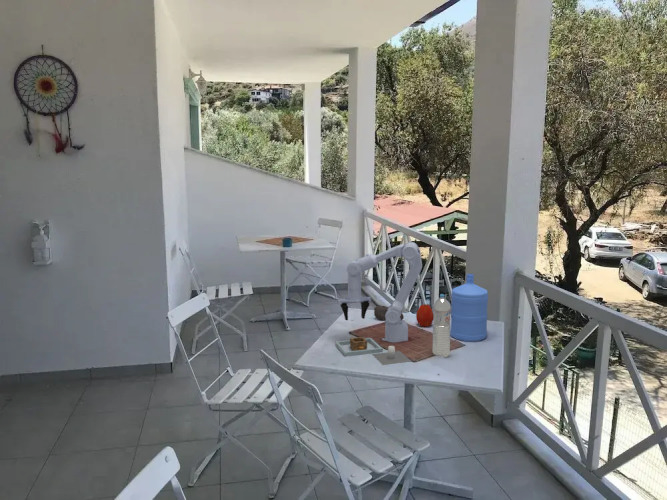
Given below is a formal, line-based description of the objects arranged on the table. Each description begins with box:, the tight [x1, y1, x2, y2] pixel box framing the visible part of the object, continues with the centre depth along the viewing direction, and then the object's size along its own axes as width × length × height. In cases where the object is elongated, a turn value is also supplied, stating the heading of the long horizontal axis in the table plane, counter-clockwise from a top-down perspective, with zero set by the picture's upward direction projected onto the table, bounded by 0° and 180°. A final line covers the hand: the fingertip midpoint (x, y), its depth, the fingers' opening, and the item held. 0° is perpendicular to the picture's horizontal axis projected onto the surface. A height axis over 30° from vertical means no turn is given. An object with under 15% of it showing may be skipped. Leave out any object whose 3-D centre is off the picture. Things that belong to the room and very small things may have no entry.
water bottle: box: [432, 293, 452, 358], centre depth 214 cm, size 7×7×25 cm
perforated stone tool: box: [373, 304, 405, 321], centre depth 263 cm, size 15×5×7 cm, turn 59°
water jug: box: [450, 273, 489, 342], centre depth 236 cm, size 16×16×28 cm
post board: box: [371, 345, 413, 366], centre depth 211 cm, size 12×12×6 cm
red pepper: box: [415, 303, 434, 328], centre depth 254 cm, size 8×8×11 cm
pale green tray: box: [334, 337, 384, 358], centre depth 222 cm, size 16×14×2 cm
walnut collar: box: [349, 336, 368, 351], centre depth 221 cm, size 6×8×4 cm
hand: (354, 318), depth 235 cm, fingers open, 7 cm apart
